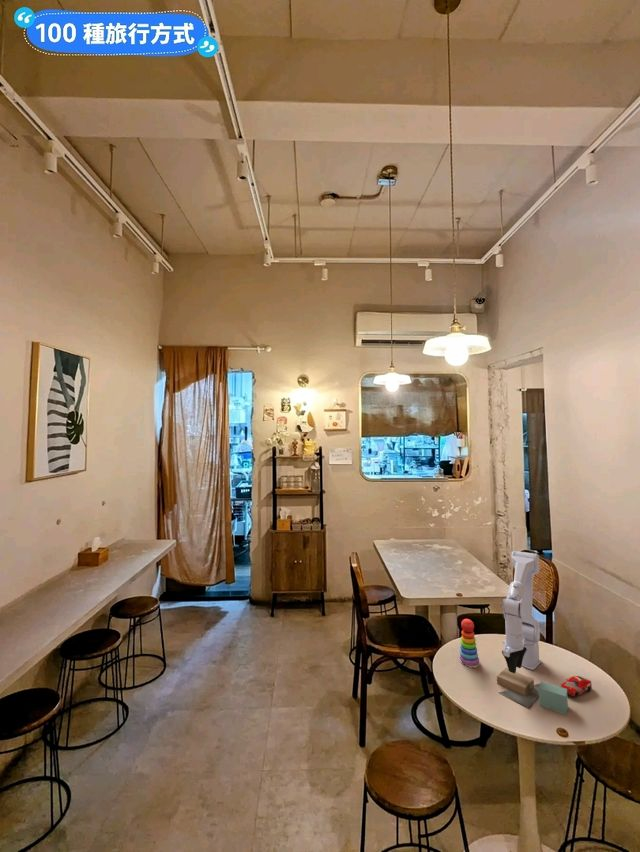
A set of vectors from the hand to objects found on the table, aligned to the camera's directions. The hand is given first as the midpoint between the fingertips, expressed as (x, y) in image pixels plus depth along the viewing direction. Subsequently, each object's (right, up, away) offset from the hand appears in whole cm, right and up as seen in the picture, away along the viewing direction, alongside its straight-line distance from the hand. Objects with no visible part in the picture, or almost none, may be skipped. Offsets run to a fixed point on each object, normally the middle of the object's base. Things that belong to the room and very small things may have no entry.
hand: (514, 669), depth 147 cm
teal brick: (+8, -6, -11) cm, 15 cm away
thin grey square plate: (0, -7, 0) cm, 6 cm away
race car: (+19, -8, -5) cm, 21 cm away
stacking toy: (-12, -8, +14) cm, 20 cm away
